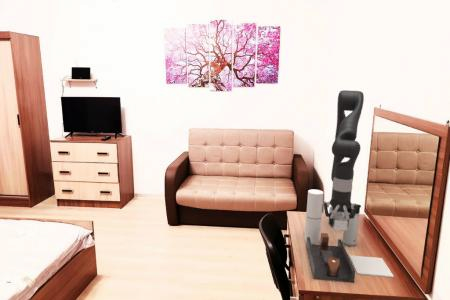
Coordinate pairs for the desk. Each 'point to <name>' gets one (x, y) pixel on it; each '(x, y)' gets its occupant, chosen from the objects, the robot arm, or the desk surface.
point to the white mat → (370, 266)
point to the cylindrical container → (314, 215)
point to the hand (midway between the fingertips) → (338, 226)
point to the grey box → (340, 221)
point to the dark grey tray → (330, 261)
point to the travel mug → (351, 229)
